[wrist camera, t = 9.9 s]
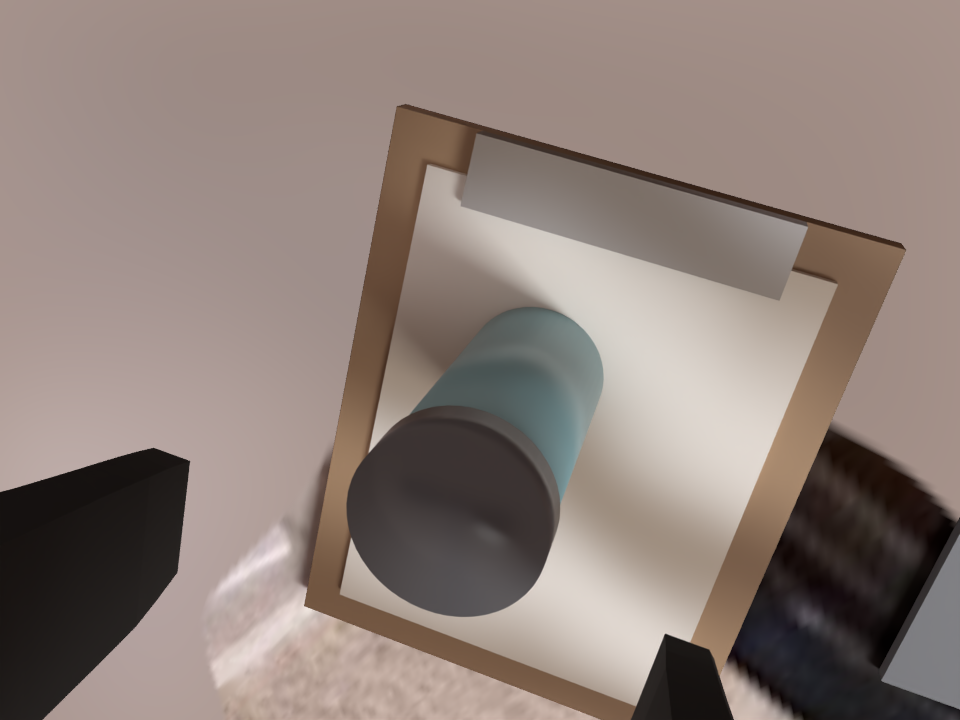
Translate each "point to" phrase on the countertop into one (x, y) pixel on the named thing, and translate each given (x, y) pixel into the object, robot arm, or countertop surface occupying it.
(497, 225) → the clipboard
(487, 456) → the tumbler
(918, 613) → the plate
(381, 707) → the countertop surface
